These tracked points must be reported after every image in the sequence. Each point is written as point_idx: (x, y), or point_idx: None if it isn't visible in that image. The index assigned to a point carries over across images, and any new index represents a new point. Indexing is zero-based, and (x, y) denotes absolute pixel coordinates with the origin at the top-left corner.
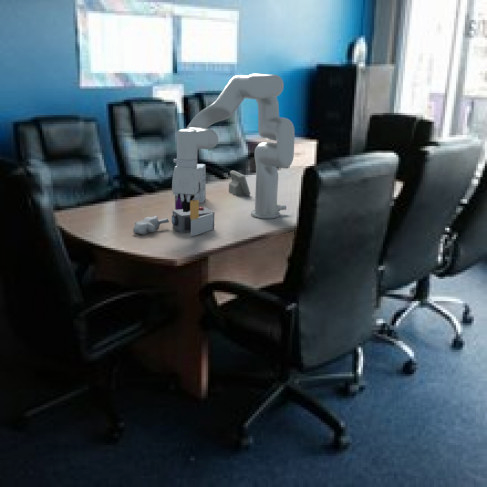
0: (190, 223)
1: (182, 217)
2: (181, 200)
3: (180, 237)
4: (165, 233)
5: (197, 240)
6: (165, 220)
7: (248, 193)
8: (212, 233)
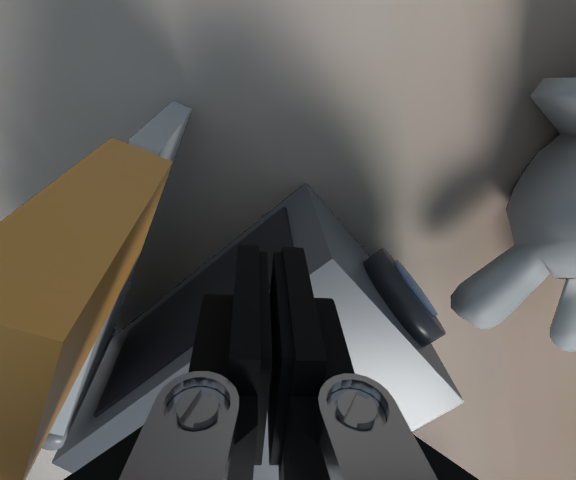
0: None
1: (317, 256)
2: (377, 395)
3: (278, 63)
4: (433, 139)
5: (87, 14)
6: (483, 291)
7: None
8: None
